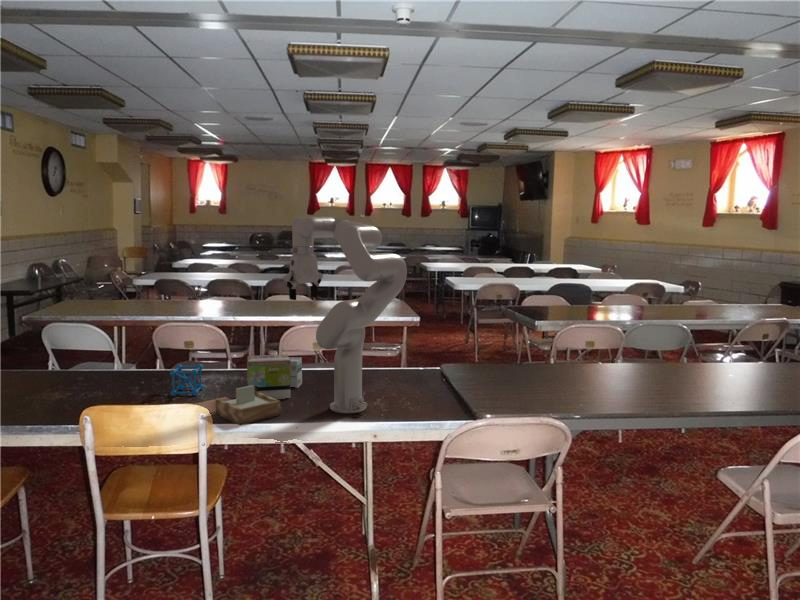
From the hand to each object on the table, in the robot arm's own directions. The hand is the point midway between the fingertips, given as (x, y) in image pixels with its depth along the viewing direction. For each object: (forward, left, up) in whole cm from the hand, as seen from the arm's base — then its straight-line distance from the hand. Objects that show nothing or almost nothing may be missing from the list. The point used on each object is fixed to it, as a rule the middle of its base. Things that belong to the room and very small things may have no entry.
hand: (303, 298), depth 224 cm
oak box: (-7, +27, -36) cm, 46 cm away
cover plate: (-7, +27, -33) cm, 43 cm away
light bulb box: (+14, -2, -36) cm, 39 cm away
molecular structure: (+30, +31, -36) cm, 57 cm away
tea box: (+6, +11, -36) cm, 38 cm away
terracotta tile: (+8, +30, -36) cm, 48 cm away
